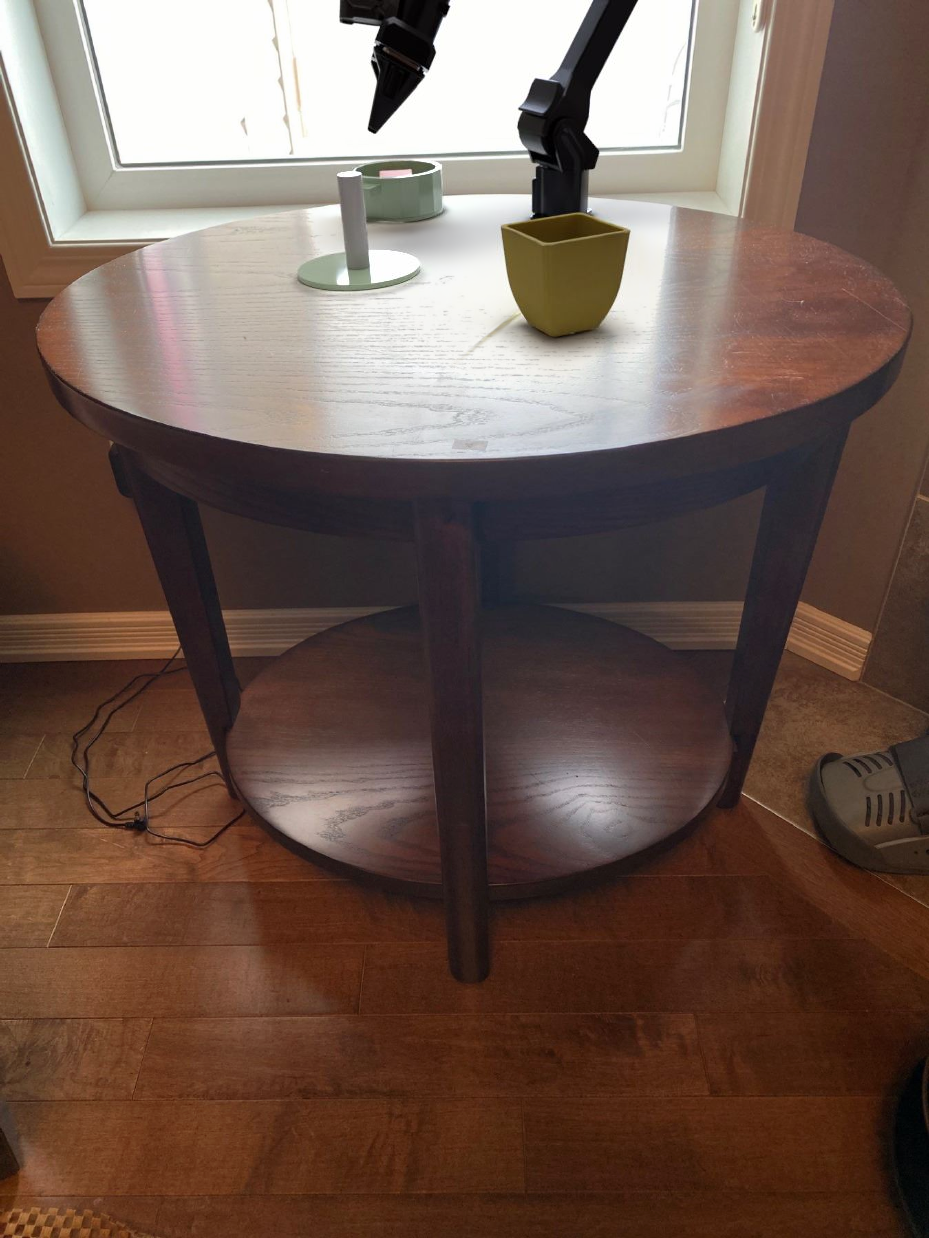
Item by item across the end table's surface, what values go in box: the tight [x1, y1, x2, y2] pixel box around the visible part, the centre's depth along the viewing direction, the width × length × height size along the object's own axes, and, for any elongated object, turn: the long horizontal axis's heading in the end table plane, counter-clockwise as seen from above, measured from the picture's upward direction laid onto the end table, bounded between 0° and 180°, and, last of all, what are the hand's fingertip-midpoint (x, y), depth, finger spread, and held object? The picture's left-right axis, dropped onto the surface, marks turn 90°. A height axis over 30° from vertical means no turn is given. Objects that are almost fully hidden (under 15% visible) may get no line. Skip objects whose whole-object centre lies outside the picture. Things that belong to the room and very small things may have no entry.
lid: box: [297, 171, 421, 292], centre depth 99 cm, size 14×14×11 cm
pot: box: [347, 158, 445, 223], centre depth 125 cm, size 13×18×6 cm
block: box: [380, 169, 412, 177], centre depth 125 cm, size 4×4×4 cm
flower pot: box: [500, 213, 631, 338], centre depth 84 cm, size 9×9×9 cm
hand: (372, 131), depth 105 cm, fingers open, 9 cm apart
